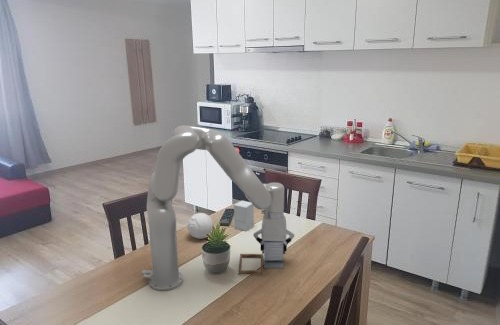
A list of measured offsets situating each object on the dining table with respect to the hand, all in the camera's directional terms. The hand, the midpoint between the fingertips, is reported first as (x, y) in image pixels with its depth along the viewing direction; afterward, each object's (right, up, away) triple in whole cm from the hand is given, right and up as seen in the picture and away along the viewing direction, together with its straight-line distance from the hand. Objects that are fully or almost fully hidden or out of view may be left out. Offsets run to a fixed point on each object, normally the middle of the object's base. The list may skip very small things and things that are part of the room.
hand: (273, 252), depth 154 cm
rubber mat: (0, -4, +1) cm, 4 cm away
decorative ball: (-33, +1, +23) cm, 40 cm away
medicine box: (0, -3, +1) cm, 3 cm away
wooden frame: (-9, -5, -2) cm, 11 cm away
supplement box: (-13, +4, +34) cm, 36 cm away
